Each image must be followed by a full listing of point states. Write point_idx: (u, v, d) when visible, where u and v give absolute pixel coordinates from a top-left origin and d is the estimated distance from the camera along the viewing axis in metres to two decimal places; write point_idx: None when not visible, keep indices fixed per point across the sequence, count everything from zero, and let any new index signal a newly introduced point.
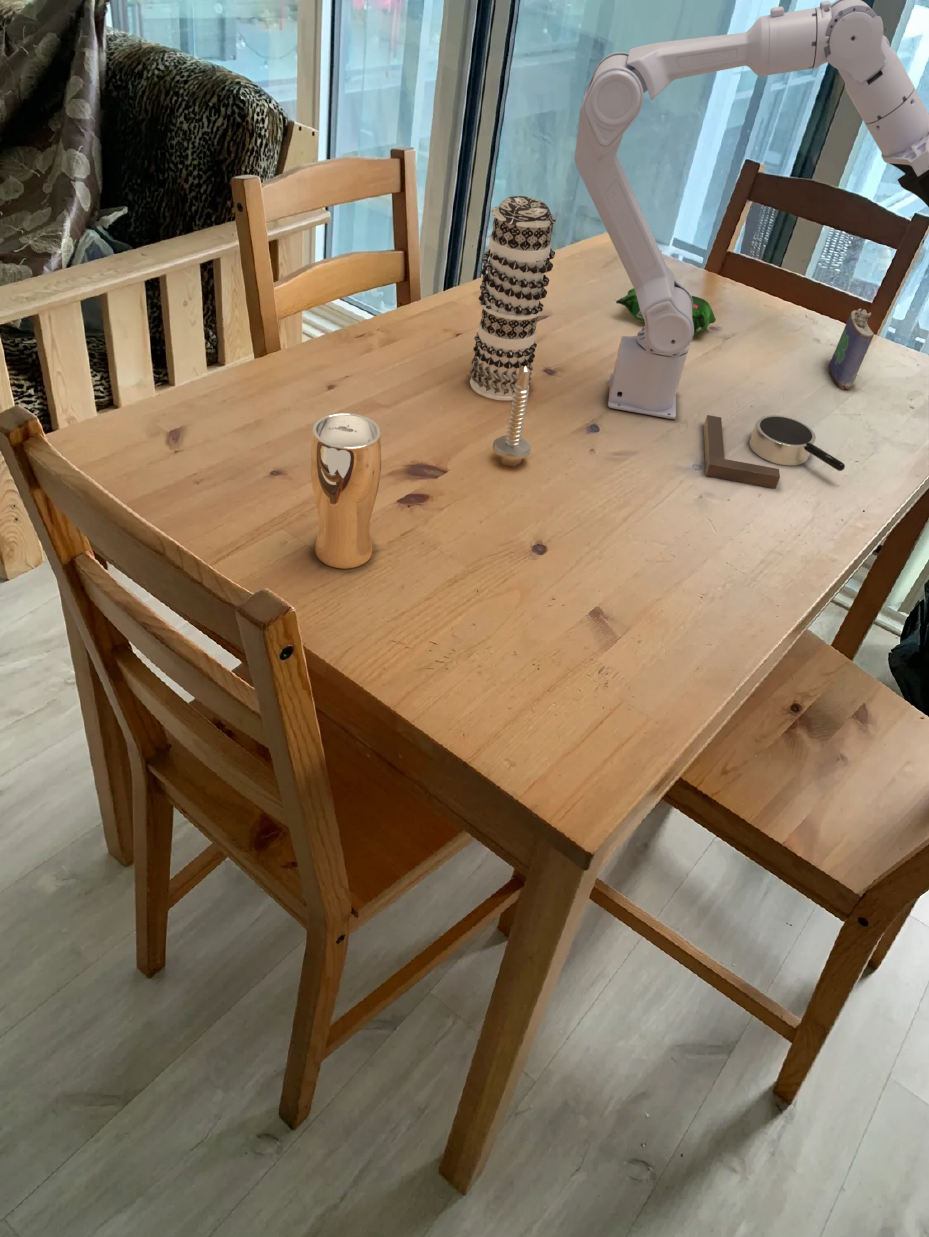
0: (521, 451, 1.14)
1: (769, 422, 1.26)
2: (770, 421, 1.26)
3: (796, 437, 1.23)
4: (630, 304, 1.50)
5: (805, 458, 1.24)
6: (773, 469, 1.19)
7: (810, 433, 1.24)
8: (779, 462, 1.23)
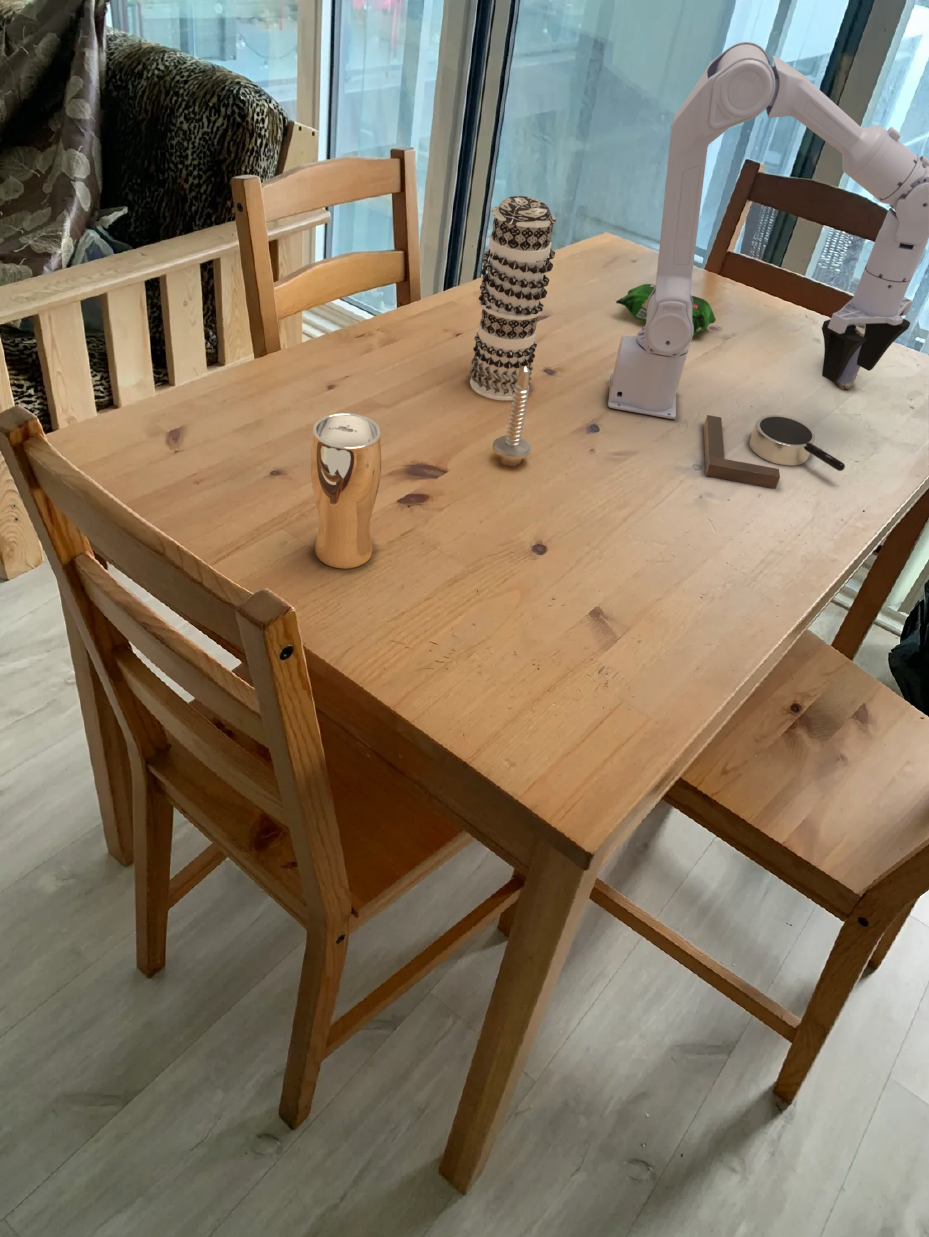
0: (521, 451, 1.14)
1: (769, 422, 1.26)
2: (770, 421, 1.26)
3: (796, 437, 1.23)
4: (630, 304, 1.50)
5: (805, 458, 1.24)
6: (773, 469, 1.19)
7: (810, 433, 1.24)
8: (779, 462, 1.23)
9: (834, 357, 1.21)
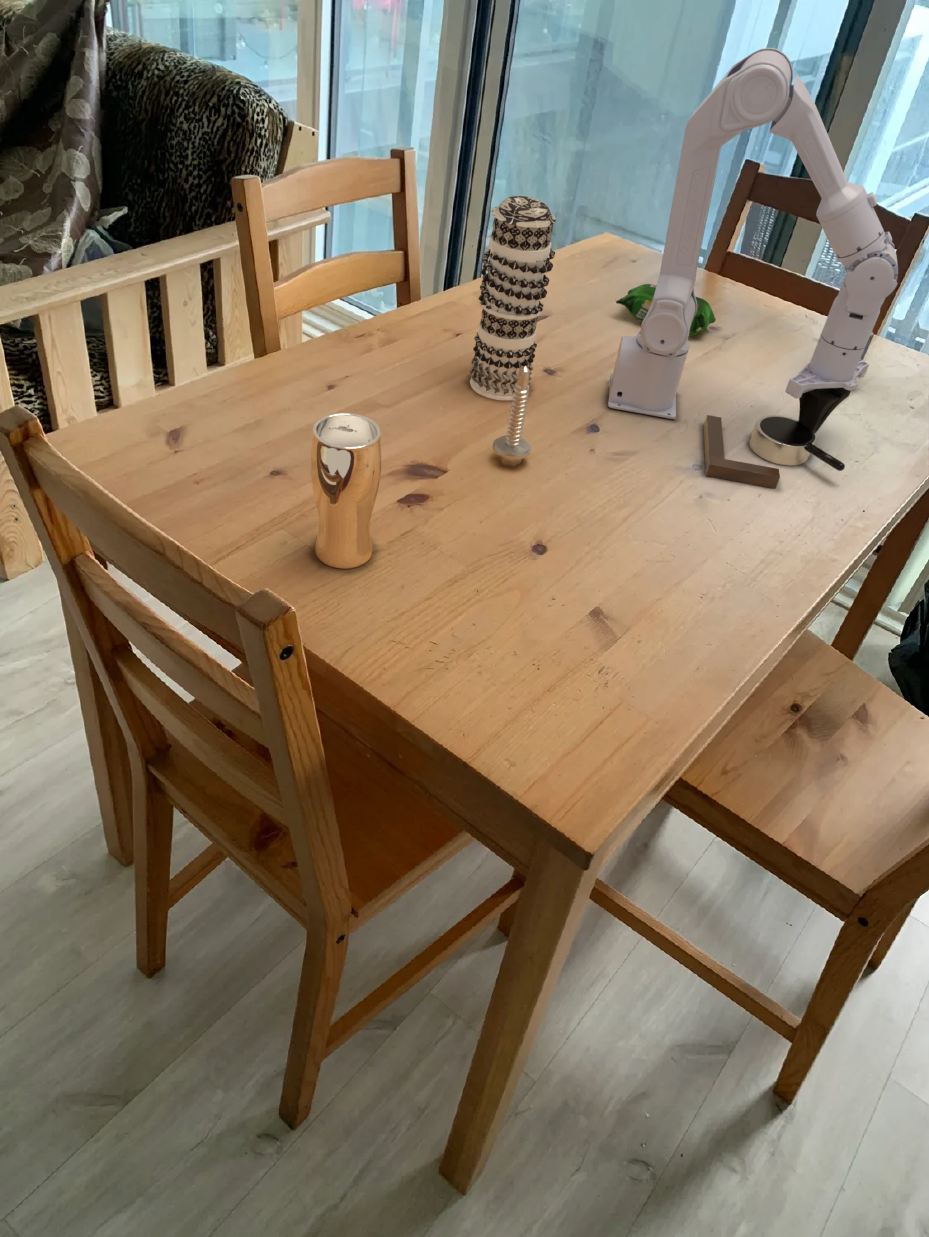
0: (521, 451, 1.14)
1: (769, 422, 1.26)
2: (770, 421, 1.26)
3: (796, 437, 1.23)
4: (630, 304, 1.50)
5: (805, 458, 1.24)
6: (773, 469, 1.19)
7: (810, 433, 1.24)
8: (779, 462, 1.23)
9: (809, 413, 1.26)
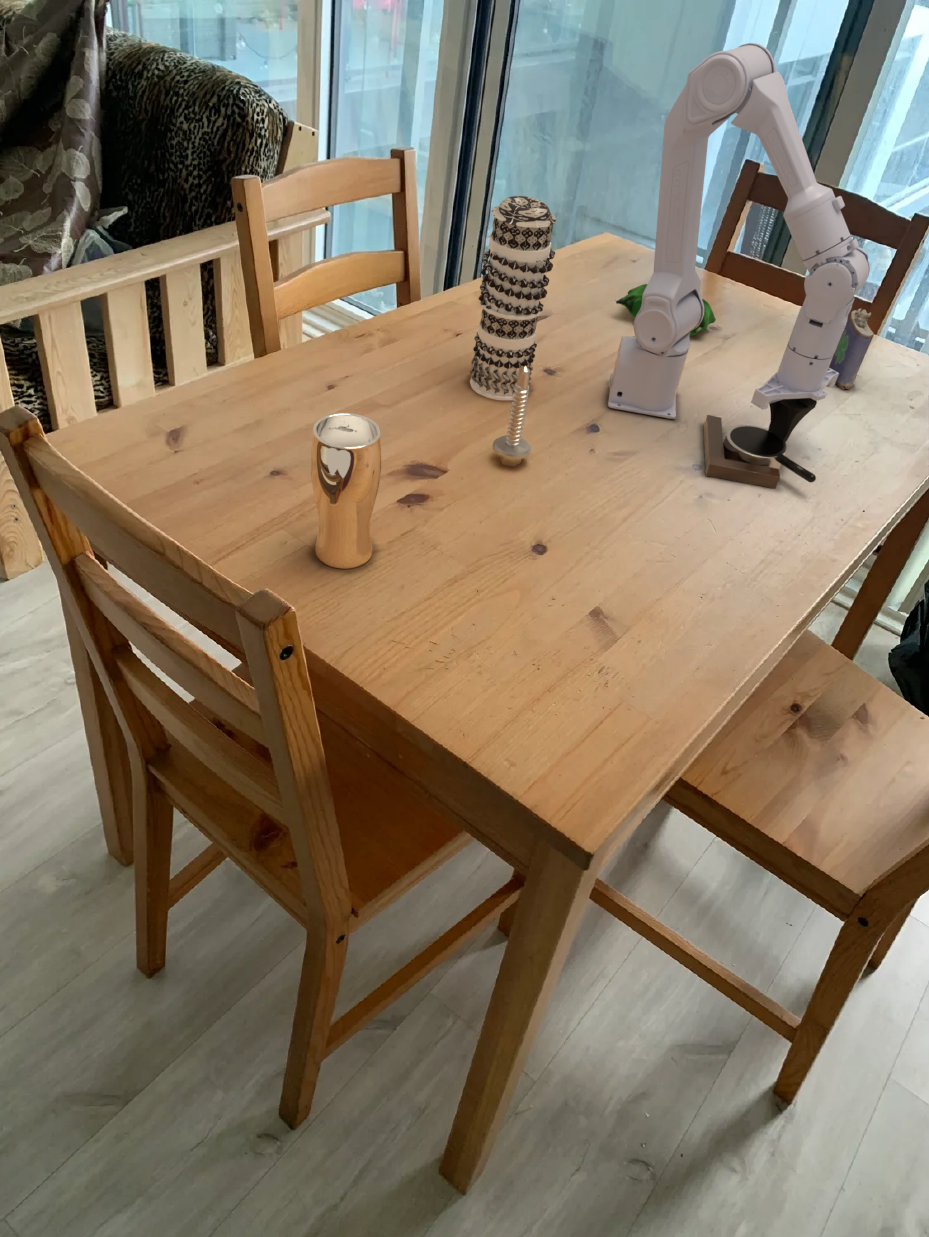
0: (521, 451, 1.14)
1: (740, 431, 1.23)
2: (741, 431, 1.23)
3: (767, 448, 1.20)
4: (630, 304, 1.50)
5: None
6: (773, 469, 1.19)
7: (781, 443, 1.21)
8: None
9: (780, 423, 1.23)
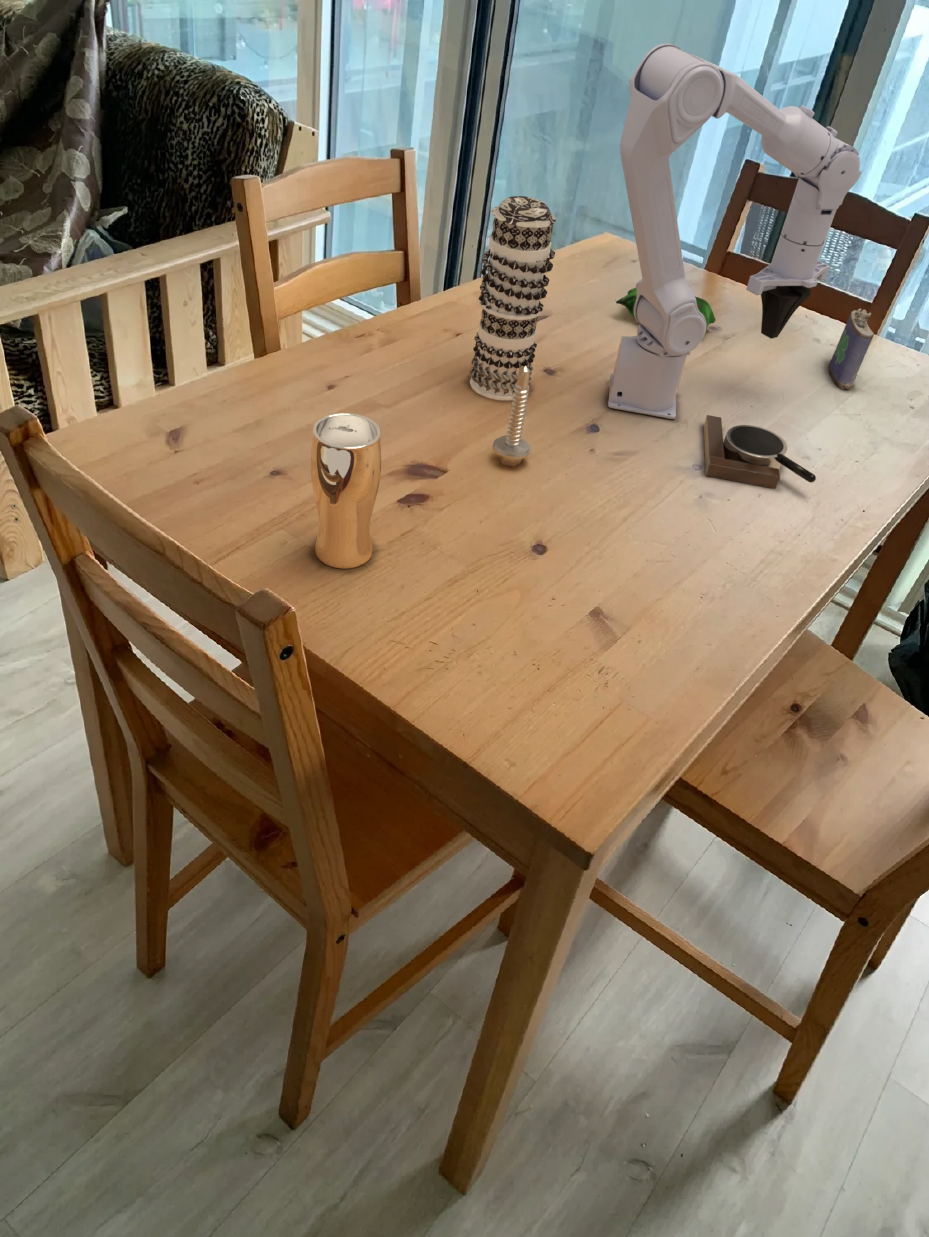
0: (521, 451, 1.14)
1: (740, 432, 1.23)
2: (741, 431, 1.23)
3: (767, 448, 1.20)
4: (630, 304, 1.50)
5: None
6: (773, 469, 1.19)
7: (781, 443, 1.21)
8: None
9: (771, 315, 1.29)
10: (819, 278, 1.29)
